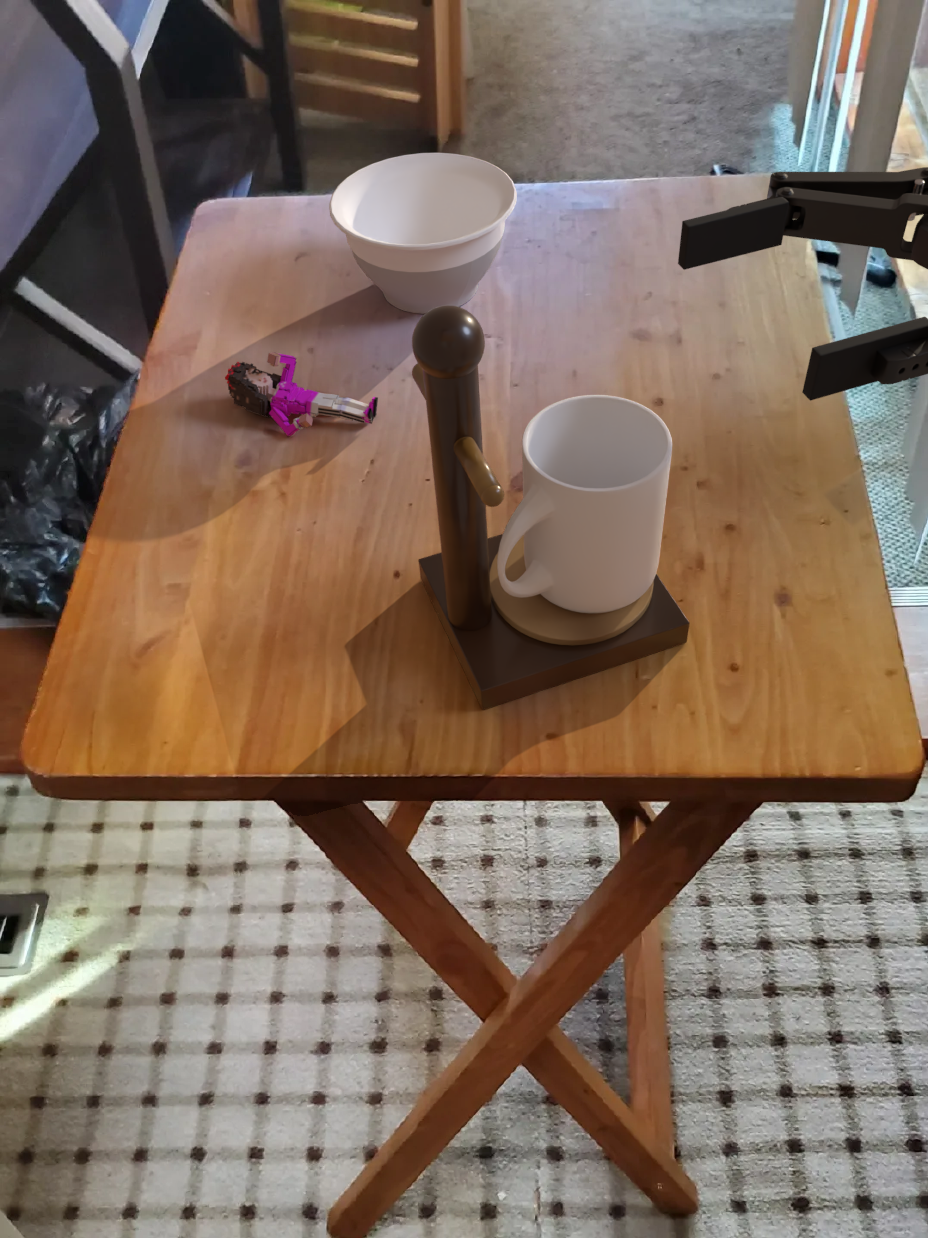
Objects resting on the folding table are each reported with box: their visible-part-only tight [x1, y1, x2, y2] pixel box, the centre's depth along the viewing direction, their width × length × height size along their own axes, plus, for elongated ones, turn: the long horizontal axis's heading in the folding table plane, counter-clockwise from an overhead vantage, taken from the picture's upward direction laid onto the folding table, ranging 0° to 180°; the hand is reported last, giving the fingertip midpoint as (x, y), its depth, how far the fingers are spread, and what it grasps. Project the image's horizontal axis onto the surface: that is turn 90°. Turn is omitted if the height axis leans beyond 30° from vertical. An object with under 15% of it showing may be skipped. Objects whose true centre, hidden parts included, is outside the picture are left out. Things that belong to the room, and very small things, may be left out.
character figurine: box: [224, 351, 379, 437], centre depth 84 cm, size 6×5×12 cm
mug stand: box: [411, 305, 690, 711], centre depth 62 cm, size 14×12×24 cm
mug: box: [497, 394, 673, 613], centre depth 65 cm, size 9×12×11 cm
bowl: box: [328, 152, 518, 315], centre depth 94 cm, size 16×16×8 cm
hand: (741, 305), depth 58 cm, fingers open, 13 cm apart
